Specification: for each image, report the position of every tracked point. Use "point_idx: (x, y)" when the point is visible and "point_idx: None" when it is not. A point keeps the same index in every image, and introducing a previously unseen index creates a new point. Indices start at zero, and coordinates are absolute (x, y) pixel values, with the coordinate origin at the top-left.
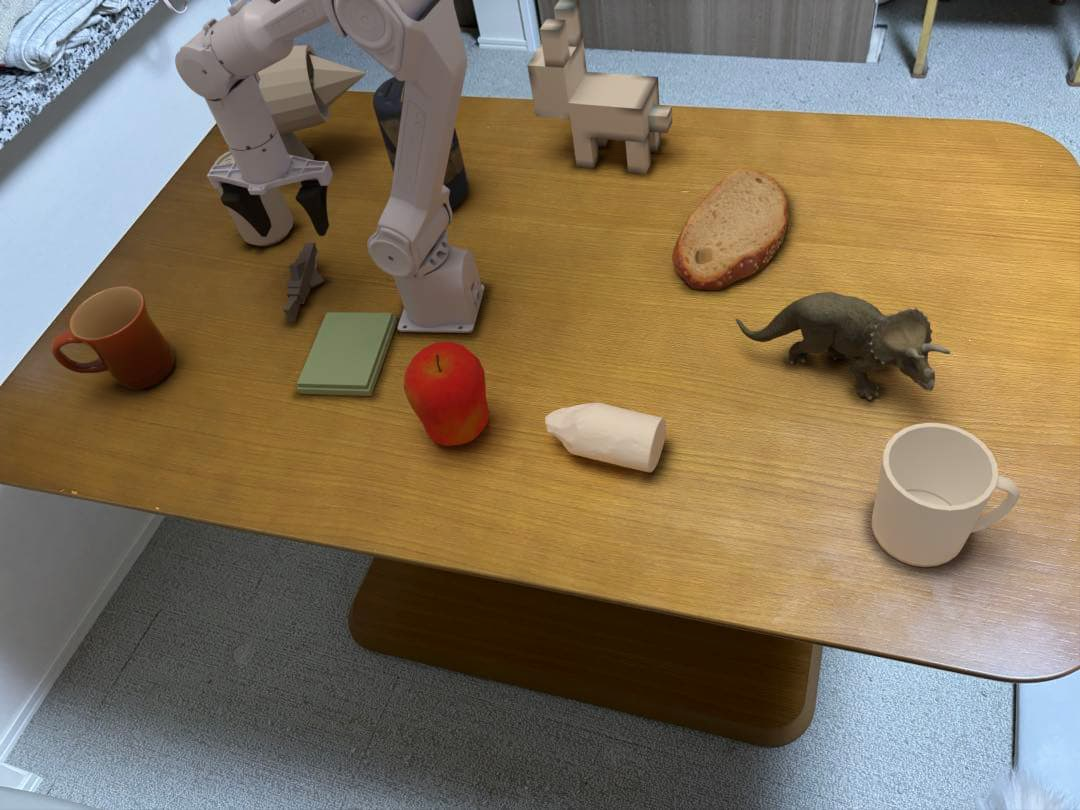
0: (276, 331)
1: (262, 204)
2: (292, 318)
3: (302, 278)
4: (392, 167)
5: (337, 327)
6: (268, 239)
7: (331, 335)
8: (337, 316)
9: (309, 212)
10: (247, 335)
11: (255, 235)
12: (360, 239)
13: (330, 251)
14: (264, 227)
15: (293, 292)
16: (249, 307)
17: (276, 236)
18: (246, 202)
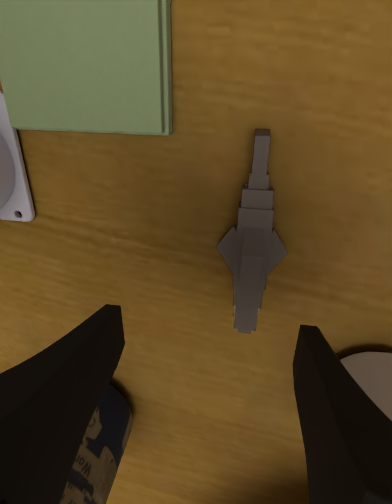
0: (298, 97)
1: (304, 442)
2: (257, 130)
3: (237, 231)
4: (92, 468)
5: (114, 76)
6: (361, 360)
7: (119, 45)
8: (129, 117)
9: (47, 369)
10: (378, 82)
11: (389, 371)
12: (182, 340)
13: (231, 321)
14: (301, 354)
15: (256, 195)
16: (386, 184)
17: (344, 365)
18: (337, 470)
